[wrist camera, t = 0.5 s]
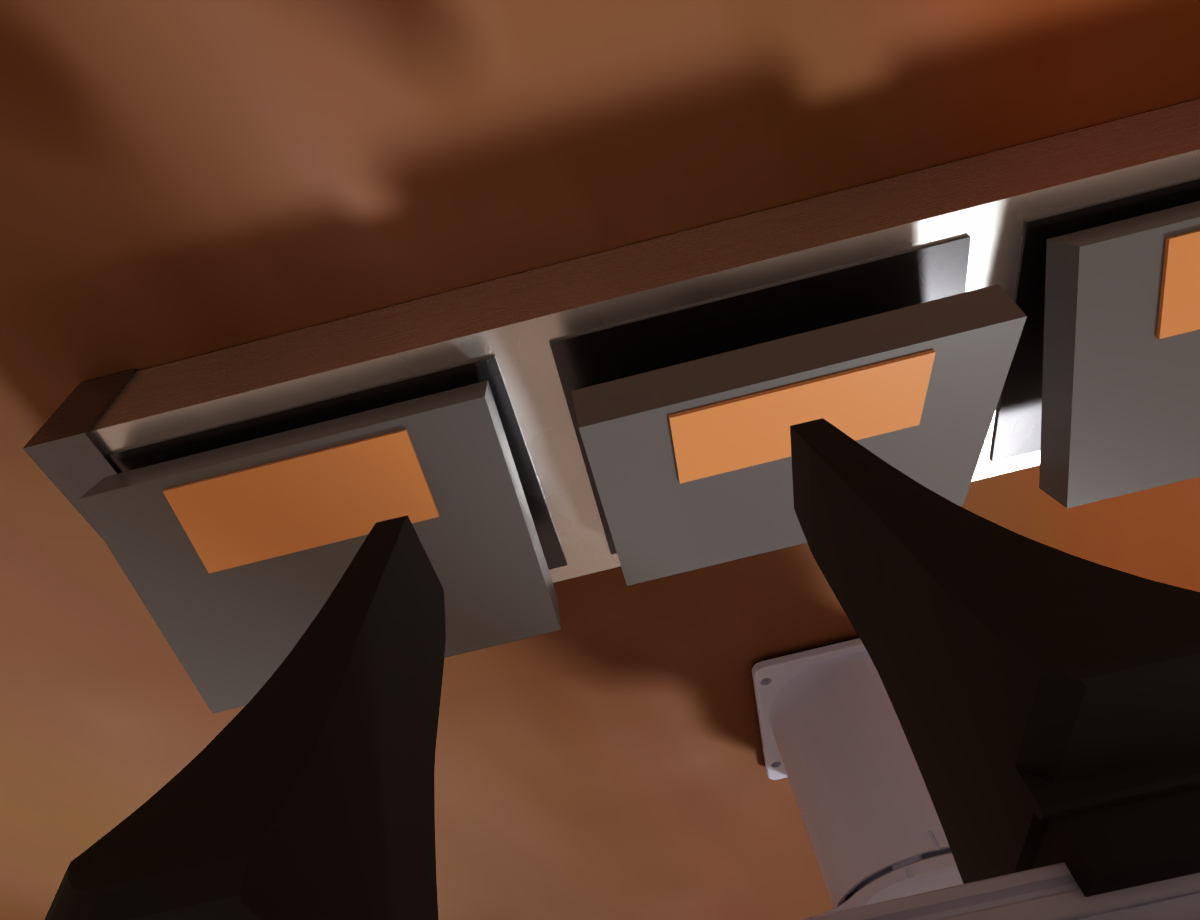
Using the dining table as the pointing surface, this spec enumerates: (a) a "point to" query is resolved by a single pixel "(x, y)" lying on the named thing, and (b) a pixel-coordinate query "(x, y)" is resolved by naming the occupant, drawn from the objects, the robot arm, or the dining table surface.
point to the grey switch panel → (655, 320)
